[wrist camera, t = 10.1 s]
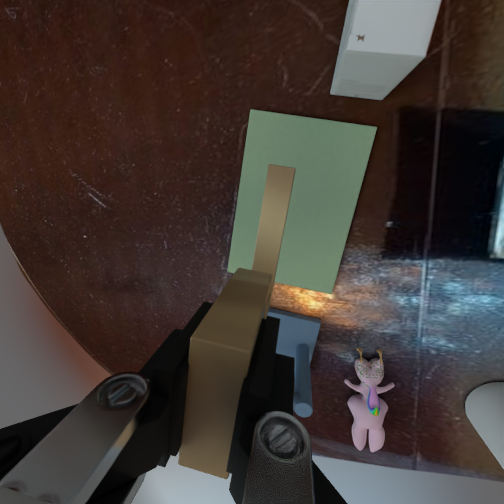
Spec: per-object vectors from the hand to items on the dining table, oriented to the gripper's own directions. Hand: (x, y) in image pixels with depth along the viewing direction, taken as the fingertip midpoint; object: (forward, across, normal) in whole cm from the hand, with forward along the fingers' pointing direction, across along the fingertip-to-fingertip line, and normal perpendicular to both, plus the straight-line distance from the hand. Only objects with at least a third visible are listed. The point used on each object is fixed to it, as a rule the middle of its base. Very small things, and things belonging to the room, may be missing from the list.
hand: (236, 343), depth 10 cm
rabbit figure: (+25, -16, +21) cm, 36 cm away
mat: (+25, -1, -3) cm, 25 cm away
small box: (+25, -5, -19) cm, 32 cm away
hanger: (+9, 0, 0) cm, 9 cm away
